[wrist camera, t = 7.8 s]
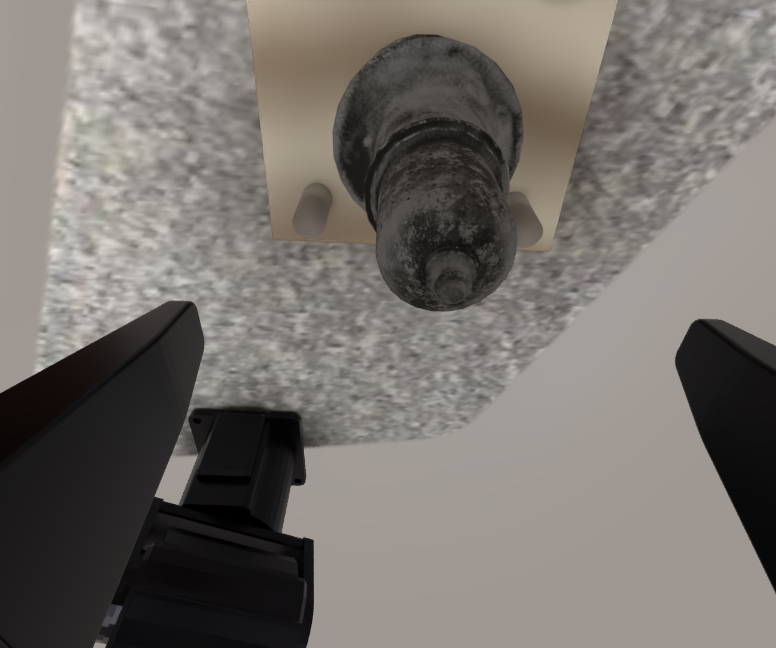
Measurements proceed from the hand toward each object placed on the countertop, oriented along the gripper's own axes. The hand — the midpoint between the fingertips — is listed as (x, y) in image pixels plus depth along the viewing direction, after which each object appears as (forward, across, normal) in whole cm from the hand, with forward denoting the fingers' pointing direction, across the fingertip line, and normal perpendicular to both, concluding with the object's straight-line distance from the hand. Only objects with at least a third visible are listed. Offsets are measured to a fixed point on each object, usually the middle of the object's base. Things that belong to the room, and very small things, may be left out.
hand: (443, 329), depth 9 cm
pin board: (+13, 0, -2) cm, 13 cm away
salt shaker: (+12, 0, -1) cm, 12 cm away
